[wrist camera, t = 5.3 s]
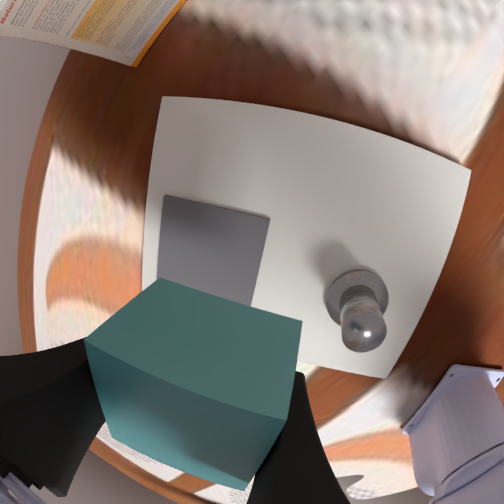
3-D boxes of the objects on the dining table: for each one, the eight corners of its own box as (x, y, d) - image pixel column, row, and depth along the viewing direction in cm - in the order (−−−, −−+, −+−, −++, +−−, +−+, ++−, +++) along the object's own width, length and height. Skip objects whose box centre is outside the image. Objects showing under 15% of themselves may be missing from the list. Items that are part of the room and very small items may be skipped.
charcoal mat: (248, 317, 19) (247, 319, 19) (158, 288, 20) (156, 289, 20) (270, 218, 16) (269, 219, 16) (166, 194, 17) (163, 195, 17)
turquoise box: (266, 412, 10) (243, 491, 7) (158, 374, 11) (112, 437, 7) (302, 320, 9) (286, 420, 5) (159, 277, 9) (83, 339, 6)
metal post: (373, 330, 17) (381, 369, 13) (318, 317, 18) (316, 355, 14) (396, 278, 16) (413, 309, 12) (337, 261, 16) (341, 291, 13)
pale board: (384, 370, 19) (385, 378, 18) (148, 303, 22) (141, 309, 21) (464, 169, 13) (471, 170, 12) (169, 98, 16) (162, 96, 15)
